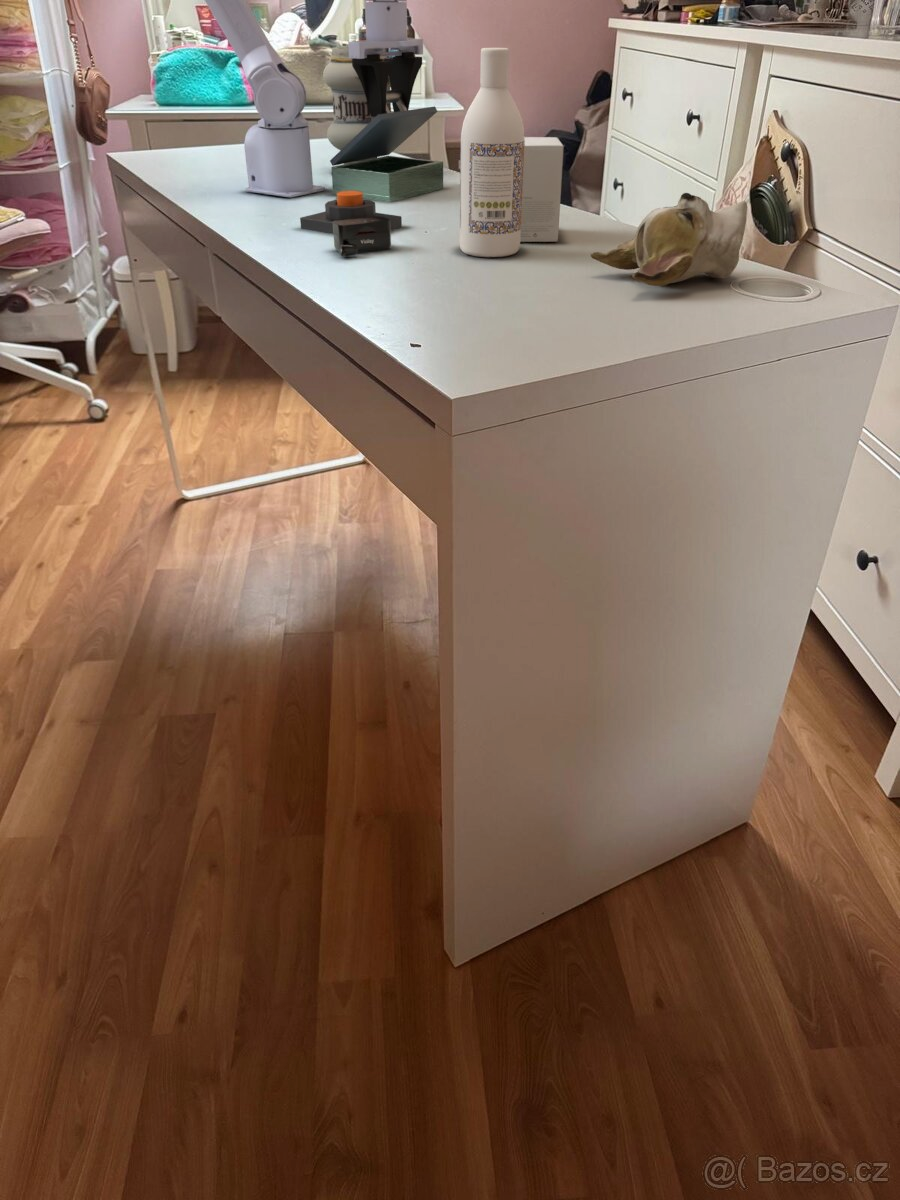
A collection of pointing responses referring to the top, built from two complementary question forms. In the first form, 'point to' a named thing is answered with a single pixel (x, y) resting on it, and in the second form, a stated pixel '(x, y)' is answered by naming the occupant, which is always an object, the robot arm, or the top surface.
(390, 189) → the green hinged box
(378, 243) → the dark grey gadget
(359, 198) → the button
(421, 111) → the lid
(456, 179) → the top surface
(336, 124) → the apothecary jar
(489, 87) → the bath foam
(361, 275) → the top surface
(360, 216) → the control block
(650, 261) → the ceramic sculpture
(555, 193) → the small box
